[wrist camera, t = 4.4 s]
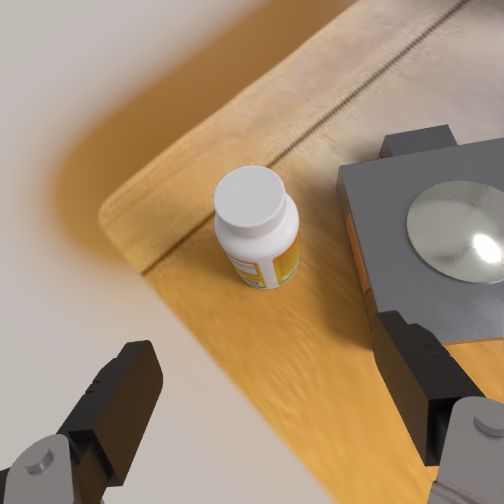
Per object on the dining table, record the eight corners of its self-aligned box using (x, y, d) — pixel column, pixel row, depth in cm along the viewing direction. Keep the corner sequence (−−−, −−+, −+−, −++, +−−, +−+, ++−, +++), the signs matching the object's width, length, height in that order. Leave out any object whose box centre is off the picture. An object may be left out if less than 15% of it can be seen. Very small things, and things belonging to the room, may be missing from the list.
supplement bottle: (291, 224, 26) (286, 144, 17) (306, 283, 23) (309, 225, 15) (231, 238, 26) (195, 166, 17) (240, 296, 24) (204, 249, 15)
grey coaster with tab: (327, 162, 28) (331, 136, 25) (490, 134, 26) (514, 102, 23) (374, 352, 21) (387, 348, 18) (598, 329, 19) (653, 320, 16)
